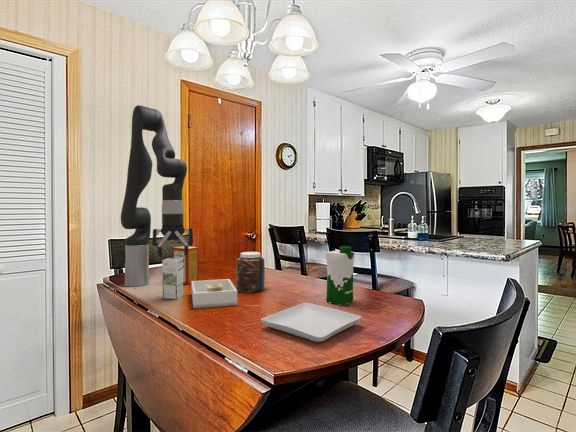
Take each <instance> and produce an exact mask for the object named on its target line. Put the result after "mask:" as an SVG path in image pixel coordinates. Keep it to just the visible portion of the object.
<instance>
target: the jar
mask: <svg viewBox="0 0 576 432" xmlns="http://www.w3.org/2000/svg"><path fill="white" fill-rule="evenodd" d="M261 254H262V253H261V252H259V251H244V252H240V255H239V256H240V257H238V258H236V262H235V264H236V265H235V288H236V289H237V293H243V294H254V293H261V292H263V291H264V290H265V287H266V286H265V285H266V283H265V280H266V279H265V277H266V276H265V274H266V273H265V271H266V270H265V269H266V268H265V267H266V266H265V264H266V263H265V258H264V257H262V256H261Z"/></svg>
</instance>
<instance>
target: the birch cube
mask: <svg viewBox="0 0 576 432" xmlns="http://www.w3.org/2000/svg"><path fill="white" fill-rule="evenodd" d="M216 291H223V287H222V285H221V284H213V285H207V292H216Z"/></svg>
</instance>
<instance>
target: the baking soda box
mask: <svg viewBox="0 0 576 432" xmlns="http://www.w3.org/2000/svg"><path fill="white" fill-rule="evenodd" d="M184 246H185V245H181V246H175V247H172V258H183V286H190V285H191V281H200V279H199V277H200V276H199V275H200V272H199V271H200V267H199V263H200V262H199V259H200V258H199V254H200V253H199V250H200V249H199V246H198V247H197V246H192V245H191V246H190V245H189V246H188V254H186V256H184Z"/></svg>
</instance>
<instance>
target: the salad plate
mask: <svg viewBox="0 0 576 432" xmlns="http://www.w3.org/2000/svg"><path fill="white" fill-rule="evenodd" d="M361 319H362V316H361V315H358V314H354V313H351V312H346V311H343V310H339V309H336V308H331V307H327V306H323V305H319V304H315V303H310V302H302V303H300V304H297V305H294V306H291V307H288V308H286V309H283V310H280V311H278V312H275V313H272V314H270V315H267V316H264V317H261V319H260V321H261V322H262V323H263V324H264V325H266V326H267V327H270V328H272V329H275V330H278V331H280V330H281V332H283V331H284V333H286V332H287V334H289V333H290V335H292V334H293V336H296V337H299V336H300V337H299V338H302V337H303V338H302V339H305V338H306V340H308V339H309V340H308V341H312V342H314V343H315V342H316V343H320V342H324V341H326V340H328V339H329V338H331V337H333V336H335V335H337V334H339V333H340V332H343V331H344V330H346V329H348V328H350V327H352V326H354V325H356V324H357V323H358V322H359V321H360V320H361Z"/></svg>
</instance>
